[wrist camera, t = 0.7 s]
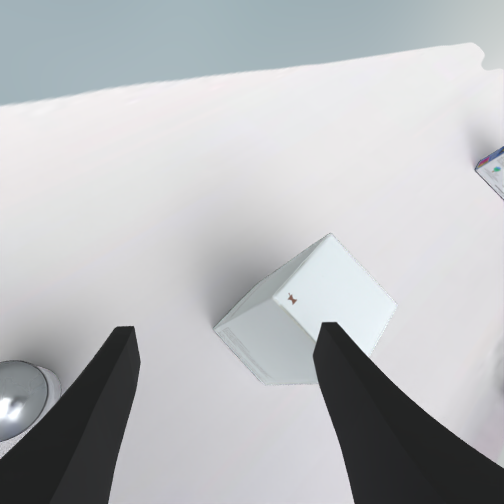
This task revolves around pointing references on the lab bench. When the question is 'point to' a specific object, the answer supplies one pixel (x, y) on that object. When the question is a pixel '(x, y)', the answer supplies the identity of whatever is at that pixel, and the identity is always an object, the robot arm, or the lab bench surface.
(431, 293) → the lab bench surface
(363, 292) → the supplement box
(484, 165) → the ink cartridge box
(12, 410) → the silver metal canister
